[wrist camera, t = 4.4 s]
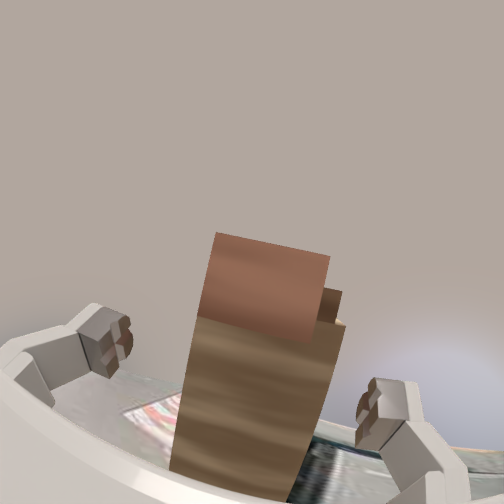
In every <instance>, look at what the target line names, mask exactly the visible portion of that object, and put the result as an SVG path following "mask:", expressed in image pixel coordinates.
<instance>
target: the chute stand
mask: <svg viewBox="0 0 504 504" xmlns="http://www.w3.org/2000/svg"><path fill="white" fill-rule="evenodd" d="M341 295H342V291H338V290H334V289H329V288H323V293H322V297H321V302H320V306H319V310H318V314H317V318H316V322H315V327H314V331H313V334H312V338H311V342H310V344H308V343H303V342H299V341H294V340H290V339H285V338H281V337H277V336H272V335H268V334H264V333H260V332H256V331H252V330H248V329H244V328H240V327H236V326H232V325H229V324H225V323H221V322H217V321H214V320H210V319H207V318H203V317H200V316H197V320H196V324H195V329H194V333H193V338H192V343H191V348H190V354H189V358H188V363H187V369H186V373H185V379H184V384H183V389H182V395H181V400H180V406H179V411H178V417H177V423H176V429H175V434H174V440H173V447H172V453H171V459H170V466H169V471H172V472H174V473H177V474H180V475H182V476H185V477H188V478H191V479H194V480H197V481H200V482H203V483H206V484H209V485H212V486H216V487H219V488H223V489H226V490H230V491H233V492H237V493H241V494H245V495H250V496H254V497H258V498H263V499H268V500H273V501H278V502H284V503H285V502H286V500H287V498H288V495H289V493H290V491H291V488H292V486H293V484H294V481H295V479H296V477H297V474H298V472H299V469H300V467H301V465H302V462H303V459H304V457H305V454H306V452H307V449H308V447H309V444H310V441H311V438H312V436H313V433H314V430H315V427H316V425H317V422H318V419H319V416H320V413H321V410H322V407H323V404H324V401H325V398H326V394H327V391H328V388H329V385H330V382H331V378H332V375H333V372H334V368H335V365H336V361H337V358H338V354H339V351H340V347H341V343H342V339H343V335H344V332H345V328H346V326H345V325H344V324H343V323H342V322H340V321H339V320H338V319H337V318H336V317H337V312H338V309H339V304H340V300H341Z"/></svg>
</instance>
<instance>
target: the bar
mask: <svg viewBox="0 0 504 504" xmlns="http://www.w3.org/2000/svg"><path fill="white" fill-rule="evenodd" d="M329 260H330V256H327V255H323V254H318V253H313V252H309V251H304V250H299V249H294V248H290V247H284V246H280V245H275V244H271V243H266V242H261V241H256V240H252V239H247V238H242V237H237V236H232V235H227V234H223V233H218V232H216V234H215V238H214V242H213V247H212V251H211V255H210V260H209V264H208V268H207V273H206V277H205V282H204V286H203V290H202V295H201V300H200V304H199V309H198V313H197V316H200V317H203V318H207V319H210V320H214V321H217V322H221V323H225V324H229V325H232V326H236V327H240V328H244V329H248V330H252V331H256V332H260V333H264V334H268V335H272V336H277V337H281V338H285V339H290V340H294V341H299V342H303V343H308V344H310V342H311V338H312V334H313V331H314V327H315V322H316V318H317V314H318V310H319V306H320V302H321V297H322V293H323V288H324V284H325V279H326V274H327V270H328V265H329Z"/></svg>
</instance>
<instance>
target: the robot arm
mask: <svg viewBox="0 0 504 504" xmlns="http://www.w3.org/2000/svg"><path fill="white" fill-rule="evenodd" d="M130 325H131V323H130V318H129V317H128V316H126V315H124V314H121V313H119V312H117V311H114V310H112V309H109V308H107V307H104V306H101V305H99V304H97V303H91V304H89V305H88V306H87V307H86V308H85V309H84V310H82V311H81V312H80V313H79V314H78V315H77V316H76V317H74V319H72V320H71V321H70V322H69V323H68V324H67V325H66V326H63V325H59V326H56V327H53V328H49V329H45V330H42V331H38V332H35V333H31V334H28V335H24V336H20V337H17V338H13V339H10V340H9V341H8V342H7V343H5V344H4V345H3V346H2V347H1V348H0V504H290V503H284V502H278V501H273V500H268V499H263V498H258V497H254V496H250V495H245V494H241V493H237V492H233V491H230V490H226V489H223V488H219V487H216V486H212V485H209V484H206V483H203V482H200V481H197V480H194V479H191V478H188V477H185V476H182V475H180V474H177V473H174V472H172V471H169V470H167V469H164V468H162V467H159V466H157V465H155V464H152V463H150V462H148V461H145V460H143V459H141V458H139V457H136V456H134V455H132V454H130V453H128V452H126V451H124V450H122V449H120V448H118V447H116V446H114V445H112V444H110V443H108V442H106V441H104V440H103V439H101V438H99V437H97V436H95V435H94V434H92V433H90V432H88V431H87V430H85V429H83V428H82V427H80V426H78V425H77V424H75V423H73V422H72V421H70V420H69V419H67V418H65V417H64V416H62V415H61V414H59V413H58V412H56V411H55V410H53V409H52V407H53V406H54V405H55V399H54V398H53V396H52V394H51V392H50V391H51V390H53V389H55V388H57V387H59V386H62V385H64V384H66V383H68V382H70V381H72V380H74V379H77V378H79V377H81V376H83V375H85V374H87V373H89V372H91V371H93V372H95V373H97V374H99V375H101V376H104V377H106V378H108V379H110V378H111V377H112V375H113V374H114V373H115V372H116V370H117V369H118V368H119V361H121V360H124V359H126V358H127V356H128V355H129V354H130V352H131V350H132V347H133V335H132V333H131V332H130V331H129V329H128V328H129V326H130ZM90 370H91V371H90ZM356 421H357V423H358V424H359V425H360V426H359V427H358V429H357V430H356V434H355V448H357V449H365V450H375V451H379V454H380V455H381V457H382V459H383V461H384V463H385V464H386V466H387V468H388V470H389V472H390V474H391V475H392V477H393V479H394V481H395V483H396V485H397V486H398V488H399V490H400V492H401V493H400V494H398V495H397V496H396V497H394V498H393V499H391V500H390V501H389V502H387V503H386V504H504V493H503V494H499V495H495V496H492V497H487V498H483V499H479V500H474V501H471V493H470V485H469V477H468V470H467V467H466V466H465V464H464V463H463V462H462V461H461V460H460V458H459V457H458V456H457V455H456V454H455V452H454V451H453V450H452V449H451V448H450V446H449V445H448V444H447V443H446V442H445V441H444V439H443V438H442V437H441V436H440V435H439V434H438V432H437V431H436V430H435V429H434V428H433V426H432V425H431V424H430V423H429V422H425V421H424V415H423V409H422V403H421V398H420V393H419V389H418V384H417V383H416V382H408V381H399V380H390V379H382V378H375V377H374V378H373V379H372V380H371V381H370V383H369V384H368V392H366V393H364V394H363V395H362V397H361V399H360V401H359V404H358V407H357V412H356Z"/></svg>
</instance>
